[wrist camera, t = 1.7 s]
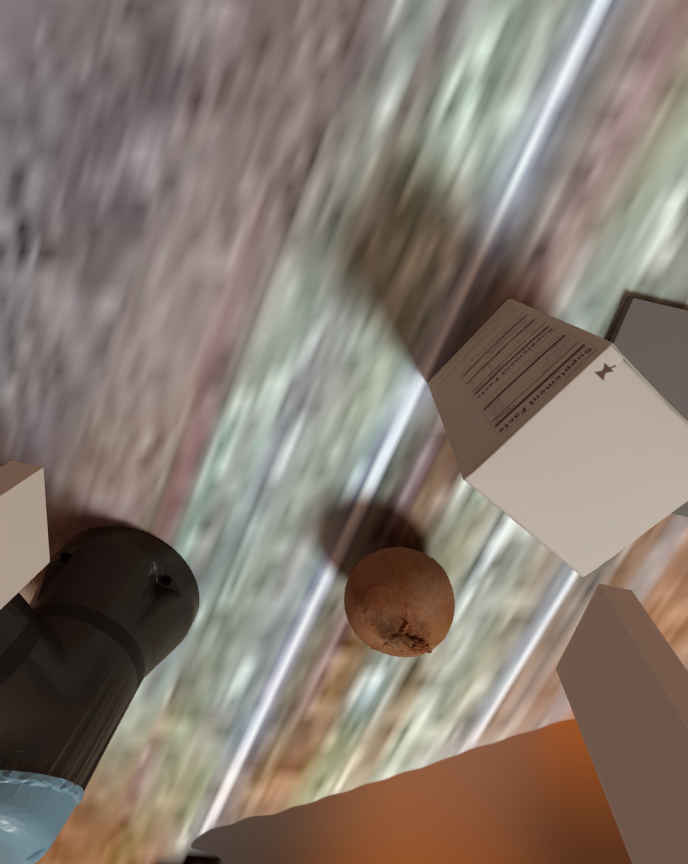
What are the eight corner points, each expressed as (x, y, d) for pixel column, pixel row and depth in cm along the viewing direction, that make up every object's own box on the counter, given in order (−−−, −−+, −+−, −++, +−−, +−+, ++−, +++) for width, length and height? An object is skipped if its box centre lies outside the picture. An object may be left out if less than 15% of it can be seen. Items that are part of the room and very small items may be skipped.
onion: (464, 548, 44) (487, 628, 35) (417, 616, 48) (426, 706, 39) (374, 507, 44) (372, 579, 34) (332, 580, 47) (320, 664, 38)
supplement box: (423, 382, 39) (454, 477, 23) (508, 293, 36) (608, 334, 20) (505, 453, 41) (584, 585, 25) (592, 374, 38) (744, 468, 22)
